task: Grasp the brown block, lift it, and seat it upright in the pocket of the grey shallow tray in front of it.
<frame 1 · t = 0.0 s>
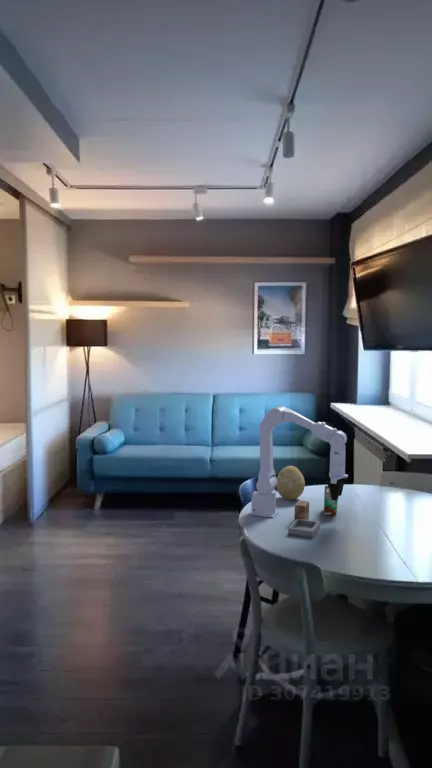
hand: (336, 497, 220), 10 cm above the table, tool pointing down, fingers open, 7 cm apart
food container: (331, 514, 233), on the table
fossilized egg: (289, 499, 253), on the table
brown block: (301, 520, 224), on the table
grey shallow tray: (304, 531, 211), on the table
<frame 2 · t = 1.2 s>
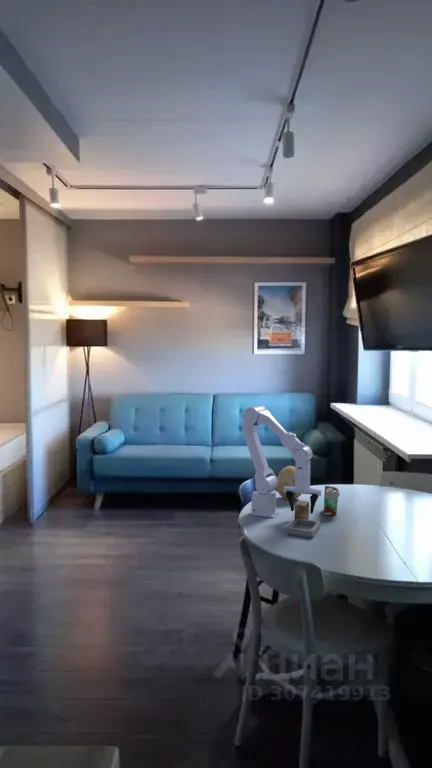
hand: (302, 511, 224), 3 cm above the table, tool pointing down, fingers open, 7 cm apart
nothing on the table moved.
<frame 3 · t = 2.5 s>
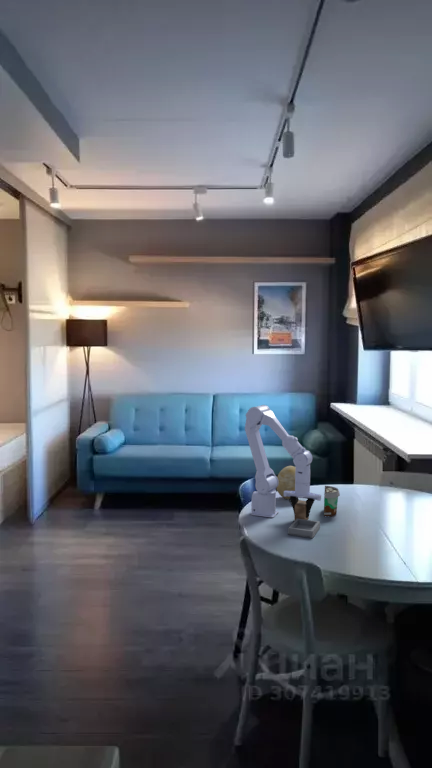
hand: (301, 516, 224), 2 cm above the table, tool pointing down, fingers closed on brown block, 4 cm apart
brown block: (301, 520, 224), on the table, touching gripper
everything else where it was.
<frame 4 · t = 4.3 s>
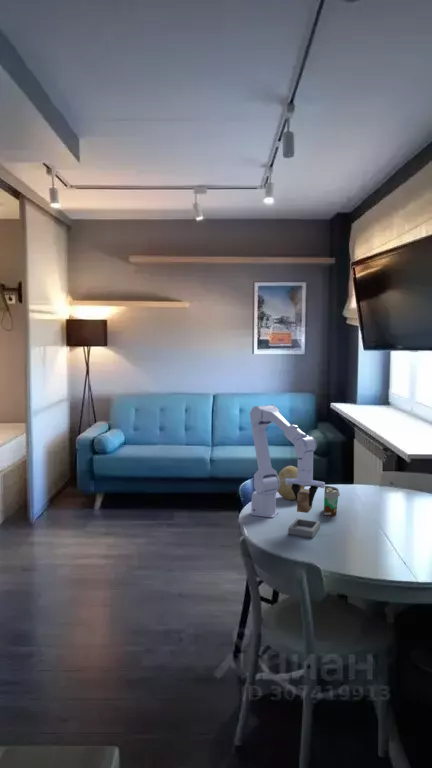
hand: (304, 504, 214), 9 cm above the table, tool pointing down, fingers closed on brown block, 4 cm apart
brown block: (304, 509, 214), point 7 cm above the table, touching gripper
everything else where it was.
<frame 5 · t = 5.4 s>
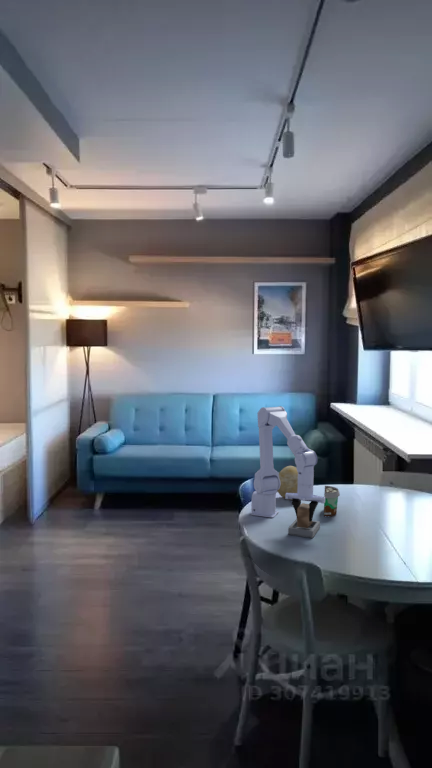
hand: (304, 519, 211), 4 cm above the table, tool pointing down, fingers closed on brown block, 4 cm apart
brown block: (304, 524, 211), point 2 cm above the table, touching gripper
everything else where it was.
when the fingers open (4 cm above the table, at t = 6.3 s): brown block drops 1 cm, resting on grey shallow tray.
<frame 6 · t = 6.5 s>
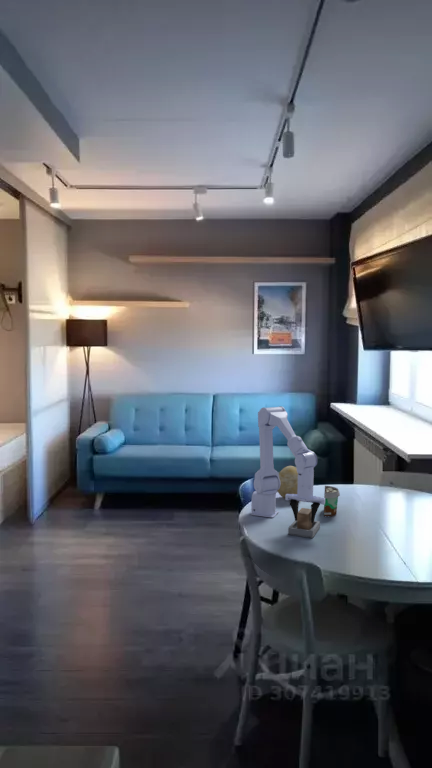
hand: (304, 521, 211), 4 cm above the table, tool pointing down, fingers open, 5 cm apart
brown block: (304, 529, 211), point 1 cm above the table, touching grey shallow tray
everything else where it was.
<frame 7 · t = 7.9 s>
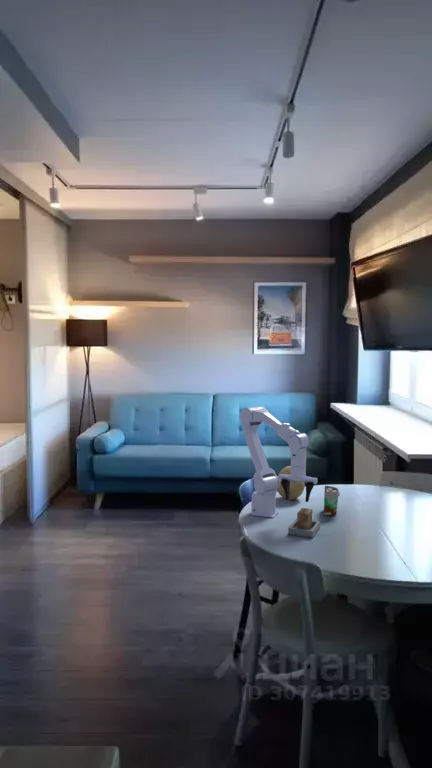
hand: (297, 500, 219), 9 cm above the table, tool pointing down, fingers open, 7 cm apart
nothing on the table moved.
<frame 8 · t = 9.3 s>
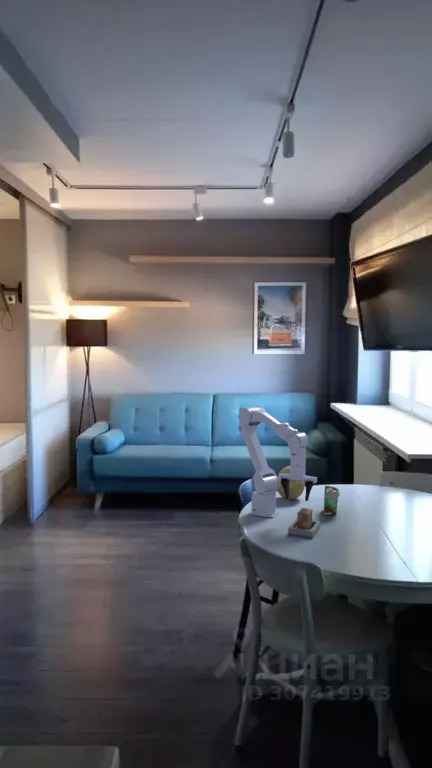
hand: (297, 499, 220), 9 cm above the table, tool pointing down, fingers open, 7 cm apart
nothing on the table moved.
at the end: brown block 0.2 cm off-centre on the grey shallow tray, point 0.6 cm above the grey shallow tray's base; brown block tilted 0°; the gripper is holding nothing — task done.
